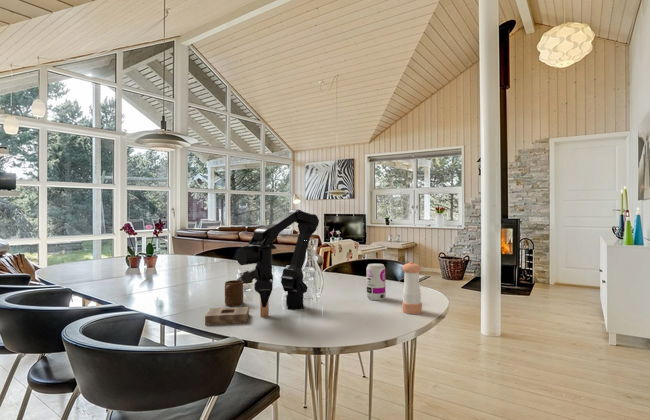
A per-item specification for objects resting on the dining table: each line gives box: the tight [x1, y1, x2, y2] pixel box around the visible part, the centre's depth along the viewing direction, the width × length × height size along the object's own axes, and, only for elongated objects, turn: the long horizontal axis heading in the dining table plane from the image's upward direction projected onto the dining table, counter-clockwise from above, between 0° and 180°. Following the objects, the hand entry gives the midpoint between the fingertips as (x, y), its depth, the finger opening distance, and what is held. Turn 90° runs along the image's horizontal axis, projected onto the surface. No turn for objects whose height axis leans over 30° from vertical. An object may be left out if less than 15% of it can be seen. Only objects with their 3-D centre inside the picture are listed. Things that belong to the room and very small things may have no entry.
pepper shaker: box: [401, 261, 423, 315], centre depth 137 cm, size 7×7×19 cm
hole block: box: [204, 306, 250, 326], centre depth 129 cm, size 14×10×3 cm
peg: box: [259, 298, 270, 318], centre depth 133 cm, size 3×3×10 cm
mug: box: [224, 279, 244, 307], centre depth 149 cm, size 12×8×9 cm, turn 173°
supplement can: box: [365, 263, 387, 301], centre depth 158 cm, size 8×8×15 cm
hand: (264, 304), depth 133 cm, fingers open, 9 cm apart
